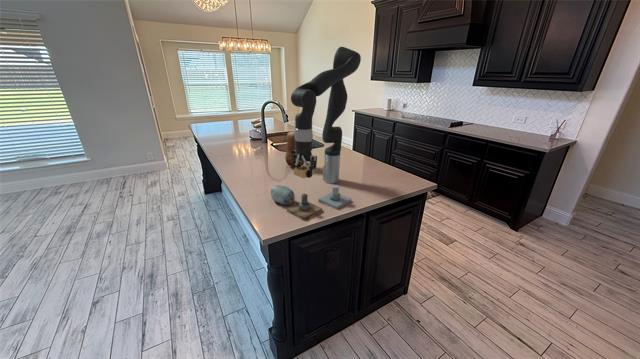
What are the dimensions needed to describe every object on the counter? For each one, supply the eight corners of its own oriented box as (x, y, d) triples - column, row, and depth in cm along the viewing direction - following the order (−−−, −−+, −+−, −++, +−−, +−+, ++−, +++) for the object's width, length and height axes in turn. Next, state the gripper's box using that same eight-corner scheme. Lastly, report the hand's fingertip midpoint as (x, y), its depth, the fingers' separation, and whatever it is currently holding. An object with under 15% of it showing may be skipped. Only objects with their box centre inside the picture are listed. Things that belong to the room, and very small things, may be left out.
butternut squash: (306, 164, 183) (306, 130, 173) (303, 171, 171) (303, 134, 161) (287, 163, 184) (286, 129, 175) (283, 170, 172) (282, 133, 162)
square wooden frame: (293, 174, 113) (293, 168, 112) (304, 170, 117) (304, 164, 116) (303, 178, 109) (303, 171, 108) (314, 174, 113) (314, 168, 112)
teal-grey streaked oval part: (301, 196, 127) (291, 182, 122) (289, 210, 123) (278, 196, 118) (286, 194, 137) (275, 180, 132) (274, 206, 133) (263, 193, 128)
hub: (318, 201, 130) (318, 186, 127) (333, 194, 138) (333, 179, 135) (336, 209, 122) (337, 193, 119) (351, 201, 131) (352, 186, 127)
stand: (286, 211, 120) (286, 195, 117) (304, 202, 128) (304, 187, 125) (304, 220, 112) (304, 203, 109) (322, 211, 121) (322, 195, 117)
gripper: (285, 137, 109) (287, 173, 115) (309, 143, 100) (309, 182, 106) (298, 134, 114) (299, 169, 120) (322, 140, 105) (321, 177, 112)
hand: (304, 175), depth 113 cm, fingers closed on square wooden frame, 6 cm apart
